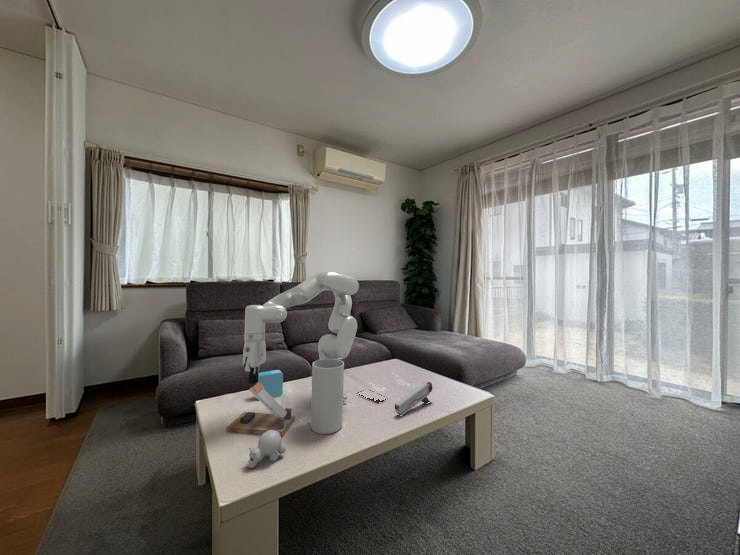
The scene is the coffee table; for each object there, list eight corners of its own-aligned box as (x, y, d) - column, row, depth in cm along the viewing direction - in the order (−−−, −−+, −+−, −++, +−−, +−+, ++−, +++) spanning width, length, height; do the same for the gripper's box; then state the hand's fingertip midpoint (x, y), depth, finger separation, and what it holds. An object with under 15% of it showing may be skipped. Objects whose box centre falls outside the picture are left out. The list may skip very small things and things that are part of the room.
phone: (367, 389, 147) (388, 398, 136) (367, 391, 147) (388, 400, 136) (356, 393, 141) (377, 403, 131) (356, 395, 141) (377, 405, 131)
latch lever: (286, 414, 111) (289, 410, 111) (280, 421, 106) (283, 417, 106) (255, 384, 112) (258, 381, 112) (248, 390, 107) (252, 386, 107)
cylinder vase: (314, 417, 117) (316, 358, 117) (344, 418, 117) (345, 359, 117) (307, 434, 104) (308, 367, 105) (340, 435, 104) (341, 369, 104)
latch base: (294, 420, 114) (295, 406, 114) (282, 437, 102) (282, 421, 102) (244, 416, 116) (244, 402, 116) (226, 432, 104) (226, 416, 104)
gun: (435, 399, 135) (432, 380, 134) (400, 427, 119) (397, 406, 118) (430, 397, 137) (428, 378, 136) (396, 425, 121) (393, 404, 120)
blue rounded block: (280, 392, 141) (280, 369, 141) (282, 396, 137) (283, 371, 137) (255, 397, 135) (255, 372, 135) (256, 401, 131) (257, 375, 131)
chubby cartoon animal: (246, 469, 88) (236, 448, 86) (279, 441, 96) (271, 421, 94) (256, 481, 83) (245, 459, 81) (290, 450, 91) (281, 430, 89)
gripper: (253, 341, 102) (252, 391, 102) (272, 333, 117) (271, 377, 117) (234, 340, 103) (233, 389, 103) (255, 332, 118) (254, 375, 118)
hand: (253, 382), depth 110 cm, fingers closed
